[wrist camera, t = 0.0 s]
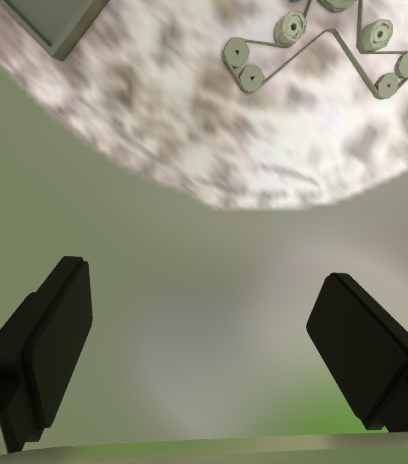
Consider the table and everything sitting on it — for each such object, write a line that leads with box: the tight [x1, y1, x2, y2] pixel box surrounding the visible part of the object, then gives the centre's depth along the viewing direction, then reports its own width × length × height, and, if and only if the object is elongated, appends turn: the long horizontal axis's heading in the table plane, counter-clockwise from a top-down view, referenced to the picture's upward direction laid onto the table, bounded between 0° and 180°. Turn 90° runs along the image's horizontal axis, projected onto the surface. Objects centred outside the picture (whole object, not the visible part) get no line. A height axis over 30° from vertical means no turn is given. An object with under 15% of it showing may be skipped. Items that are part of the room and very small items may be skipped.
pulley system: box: [223, 0, 408, 99], centre depth 31 cm, size 27×5×15 cm
